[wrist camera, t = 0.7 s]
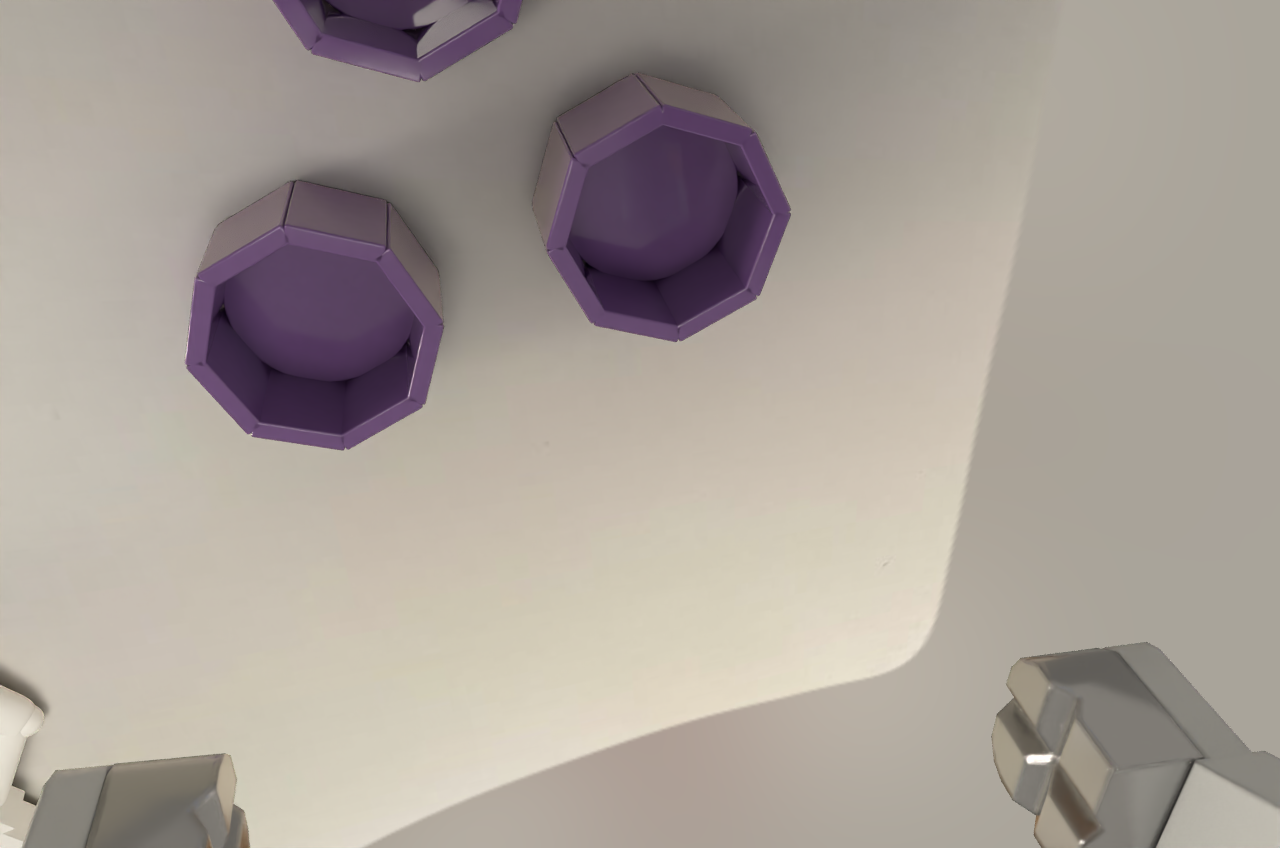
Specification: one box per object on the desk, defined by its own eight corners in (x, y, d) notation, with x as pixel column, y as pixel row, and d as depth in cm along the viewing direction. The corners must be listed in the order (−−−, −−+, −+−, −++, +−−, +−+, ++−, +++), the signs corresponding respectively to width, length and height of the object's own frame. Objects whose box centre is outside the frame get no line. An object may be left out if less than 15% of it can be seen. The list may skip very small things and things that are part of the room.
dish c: (571, 53, 27) (592, 84, 24) (776, 111, 29) (818, 147, 26) (515, 263, 30) (527, 313, 27) (706, 304, 32) (737, 355, 29)
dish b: (222, 162, 27) (202, 206, 24) (453, 214, 29) (459, 261, 26) (197, 365, 30) (176, 426, 27) (410, 400, 32) (411, 461, 29)
